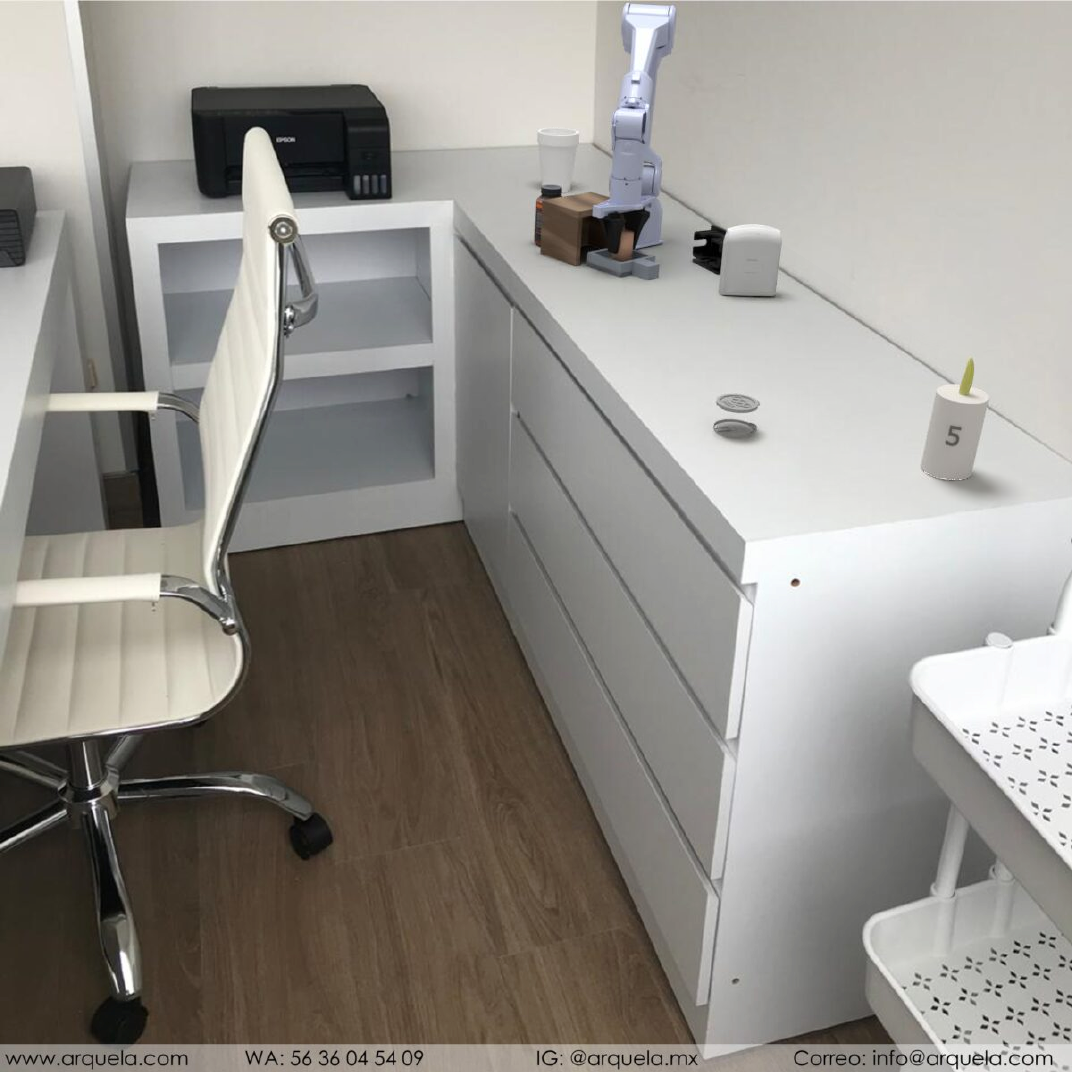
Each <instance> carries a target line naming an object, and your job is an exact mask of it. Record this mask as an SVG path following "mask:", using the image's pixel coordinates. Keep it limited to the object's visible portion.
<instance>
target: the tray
mask: <svg viewBox="0 0 1072 1072" xmlns="http://www.w3.org/2000/svg"><path fill="white" fill-rule="evenodd" d="M586 267H589V268H592V269H595V270H597V271H601V272H603V273H606V274H610V275H613V276H615V277H618V278H623V277H627V276H633V277H634V276H635V277H638V278H640V279H643V280H646V281H648V280H652V279H657V278H659V275H660V267H661V265H660V263H657V262H656V256H655V255H653V254H650V253H647V252H644V251H640V250H638V249H635V250H633V252H632V260H629V261H616V260H613V259H611V253H610V252H608V249H607V248H606V249H598V250H592V251H588V252H587V253H586Z"/></svg>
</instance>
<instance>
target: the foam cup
mask: <svg viewBox="0 0 1072 1072" xmlns="http://www.w3.org/2000/svg"><path fill="white" fill-rule="evenodd" d="M536 141H537V145H538V153H539V154H538V156H539V166H540V177H541V187H542V186H543V185H559V186H561V187H562V194H563V193H568V192H570V188H571V185H572V179H573V172H574V167H575V162H576V158H577V157H576V156H577V150H578V144H579V142H580V132H579V131H578V130H576V129H573V128H567V127H543V128H540V129H537V139H536Z"/></svg>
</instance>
